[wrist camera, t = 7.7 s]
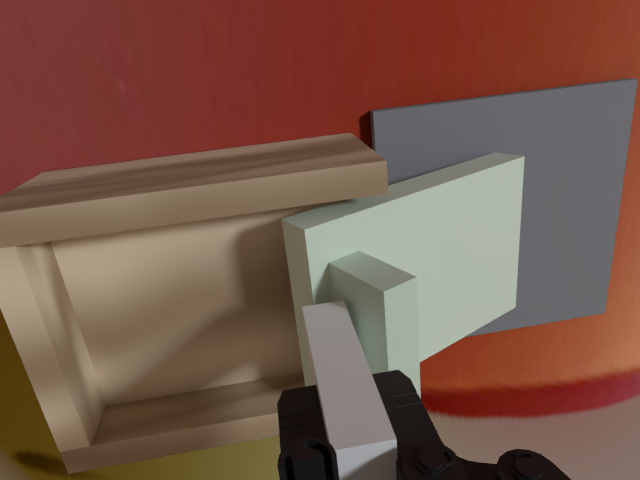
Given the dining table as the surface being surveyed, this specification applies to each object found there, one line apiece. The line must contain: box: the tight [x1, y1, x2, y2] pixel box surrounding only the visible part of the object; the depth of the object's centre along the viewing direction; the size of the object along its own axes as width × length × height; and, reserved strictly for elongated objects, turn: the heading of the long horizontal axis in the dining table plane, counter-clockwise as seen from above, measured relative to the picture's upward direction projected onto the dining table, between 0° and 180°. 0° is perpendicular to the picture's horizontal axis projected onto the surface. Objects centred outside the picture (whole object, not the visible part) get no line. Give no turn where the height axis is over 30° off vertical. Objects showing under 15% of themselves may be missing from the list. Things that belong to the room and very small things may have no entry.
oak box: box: [0, 133, 388, 474], centre depth 21 cm, size 11×14×6 cm
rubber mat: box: [370, 78, 638, 337], centre depth 25 cm, size 13×13×1 cm
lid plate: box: [281, 152, 525, 399], centre depth 20 cm, size 8×12×5 cm, turn 96°
